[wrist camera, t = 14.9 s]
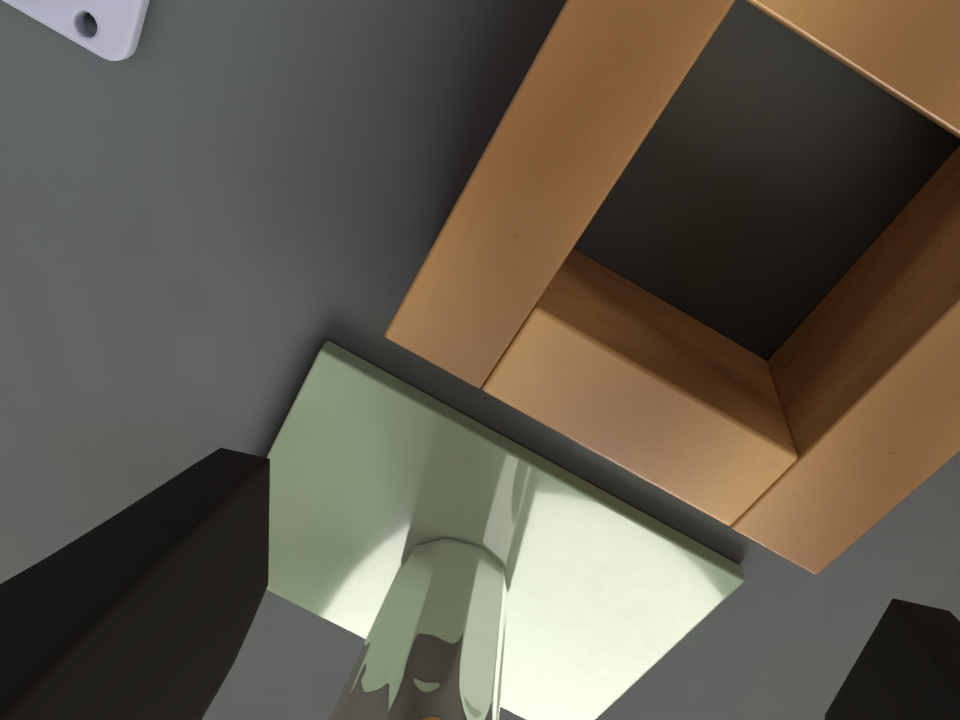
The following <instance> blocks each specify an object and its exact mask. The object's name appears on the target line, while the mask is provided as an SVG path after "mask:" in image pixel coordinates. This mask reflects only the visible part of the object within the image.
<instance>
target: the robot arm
mask: <svg viewBox="0 0 960 720" xmlns="http://www.w3.org/2000/svg"><path fill="white" fill-rule="evenodd" d="M2 1H4V2H6V3H7V4H9V5H11V6H13V7H15V8H16V9H18V10H20V11H22V12H23V13H25V14H27V15H29V16H30V17H32V18H34V19H36V20H37V21H39V22H41V23H43V24H44V25H46V26H48V27H50V28H51V29H53V30H55V31H57V32H58V33H60V34H62V35H64V36H65V37H67V38H69V39H71V40H72V41H74V42H76V43H78V44H79V45H81V46H83V47H85V48H86V49H88V50H90V51H92V52H93V53H95V54H97V55H99V56H100V57H102V58H104V59H107V60H110V61H118V60H123V59H127V58H129V57H130V56H132V55H133V54H134V52H135V50H136V48H137V46H138V42H139V39H140V35H141V31H142V28H143V24H144V20H145V17H146V13H147V9H148V6H149V2H150V0H2ZM87 12H88V13H89V14H91V15H92V16H93V17H94V19H95V21H96V23H97V33H96V34H93V33H92V32H91V31H90V30H89V29H88V27H87V25H86V23H85V16H86V14H87ZM269 502H270V459H268V458H264V457H260V456H255V455H251V454H246V453H242V452H237V451H233V450H228V449H224V448H220V449H218V450H217V451H215V452H213V453H212V454H210V455H209V456H207V457H205V458H204V459H202V460H200V461H199V462H197V463H196V464H194V465H192V466H191V467H189V468H188V469H186V470H185V471H183V472H182V473H180V474H178V475H177V476H175V477H174V478H172V479H171V480H169V481H168V482H166V483H165V484H163V485H161V486H160V487H158V488H157V489H155V490H154V491H152V492H151V493H149V494H148V495H146V496H144V497H143V498H141V499H140V500H138V501H137V502H135V503H134V504H132V505H130V506H129V507H127V508H126V509H124V510H123V511H121V512H120V513H118V514H116V515H115V516H113V517H112V518H110V519H108V520H107V521H105V522H104V523H102V524H100V525H99V526H97V527H96V528H94V529H92V530H91V531H89V532H87V533H86V534H84V535H83V536H81V537H79V538H78V539H76V540H75V541H73V542H71V543H70V544H68V545H66V546H65V547H63V548H62V549H60V550H58V551H57V552H55V553H54V554H52V555H50V556H49V557H47V558H45V559H44V560H42V561H40V562H39V563H37V564H35V565H33V566H32V567H30V568H28V569H26V570H24V571H23V572H21V573H19V574H17V575H16V576H14V577H12V578H10V579H9V580H7V581H5V582H3V583H2V584H0V720H201V719H202V718H203V716H204V714H205V713H206V711H207V709H208V707H209V706H210V704H211V702H212V700H213V699H214V697H215V695H216V693H217V692H218V690H219V688H220V687H221V685H222V683H223V681H224V680H225V678H226V676H227V674H228V672H229V671H230V669H231V667H232V665H233V664H234V662H235V659H236V657H237V655H238V653H239V651H240V648H241V646H242V644H243V642H244V639H245V637H246V635H247V633H248V631H249V628H250V626H251V624H252V621H253V619H254V617H255V614H256V612H257V610H258V607H259V605H260V603H261V600H262V598H263V595H264V593H265V591H266V588H267V586H268V573H269ZM825 720H960V621H959V620H958V619H957V618H956V617H955V616H954V615H953V614H952V613H951V612H950V611H947V610H942V609H938V608H933V607H929V606H924V605H920V604H916V603H911V602H907V601H902V600H898V599H892V601H891V602H890V604H889V606H888V608H887V609H886V611H885V613H884V615H883V616H882V618H881V620H880V621H879V623H878V625H877V627H876V628H875V630H874V632H873V633H872V635H871V637H870V639H869V640H868V642H867V644H866V645H865V647H864V649H863V651H862V652H861V654H860V656H859V657H858V659H857V661H856V663H855V664H854V666H853V668H852V669H851V671H850V673H849V675H848V676H847V678H846V680H845V681H844V683H843V685H842V687H841V688H840V690H839V692H838V693H837V695H836V697H835V699H834V700H833V702H832V704H831V706H830V707H829V709H828V711H827V712H826V714H825Z"/></svg>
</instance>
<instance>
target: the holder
mask: <svg viewBox="0 0 960 720" xmlns="http://www.w3.org/2000/svg"><path fill="white" fill-rule="evenodd" d="M744 1H746V2H747V3H749V4H750V5H752V6H753V7H755V8H756V9H758V10H760V11H761V12H763V13H764V14H766V15H767V16H769V17H771V18H772V19H774V20H775V21H777V22H778V23H780V24H781V25H783V26H785V27H786V28H788V29H789V30H791V31H792V32H794V33H795V34H797V35H799V36H800V37H802V38H803V39H805V40H806V41H808V42H809V43H811V44H813V45H814V46H816V47H817V48H819V49H820V50H822V51H823V52H825V53H827V54H828V55H830V56H831V57H833V58H834V59H836V60H838V61H839V62H841V63H842V64H844V65H845V66H847V67H848V68H850V69H852V70H853V71H855V72H856V73H858V74H859V75H861V76H862V77H864V78H866V79H867V80H869V81H870V82H872V83H873V84H875V85H876V86H878V87H880V88H881V89H883V90H884V91H886V92H887V93H889V94H891V95H892V96H894V97H895V98H897V99H898V100H900V101H901V102H903V103H905V104H906V105H908V106H909V107H911V108H912V109H914V110H915V111H917V112H919V113H920V114H922V115H923V116H925V117H926V118H928V119H929V120H931V121H933V122H934V123H936V124H937V125H939V126H940V127H942V128H943V129H945V130H947V131H948V132H950V133H951V134H953V135H954V136H956V137H958V138H959V139H960V0H744ZM734 2H735V0H566V2H565V4H564V6H563V7H562V9H561V11H560V13H559V15H558V17H557V18H556V20H555V22H554V24H553V26H552V28H551V29H550V31H549V33H548V35H547V37H546V39H545V40H544V42H543V44H542V46H541V48H540V50H539V51H538V53H537V55H536V57H535V59H534V61H533V62H532V64H531V66H530V68H529V70H528V72H527V73H526V75H525V77H524V79H523V81H522V83H521V84H520V86H519V88H518V90H517V92H516V94H515V95H514V97H513V99H512V101H511V103H510V105H509V106H508V108H507V110H506V112H505V114H504V116H503V117H502V119H501V121H500V123H499V125H498V127H497V128H496V130H495V132H494V134H493V136H492V138H491V139H490V141H489V143H488V145H487V147H486V149H485V150H484V152H483V154H482V156H481V158H480V160H479V161H478V163H477V165H476V167H475V169H474V171H473V172H472V174H471V176H470V178H469V180H468V182H467V183H466V185H465V187H464V189H463V191H462V193H461V194H460V196H459V198H458V200H457V202H456V204H455V206H454V207H453V209H452V211H451V213H450V215H449V217H448V218H447V220H446V222H445V224H444V226H443V228H442V229H441V231H440V233H439V235H438V237H437V239H436V240H435V242H434V244H433V246H432V248H431V250H430V251H429V253H428V255H427V257H426V259H425V261H424V262H423V264H422V266H421V268H420V270H419V272H418V273H417V275H416V277H415V279H414V281H413V283H412V284H411V286H410V288H409V290H408V292H407V294H406V295H405V297H404V299H403V301H402V303H401V305H400V306H399V308H398V310H397V312H396V314H395V316H394V317H393V319H392V321H391V323H390V325H389V327H388V328H387V330H386V332H385V337H386V338H388V339H389V340H391V341H393V342H395V343H397V344H398V345H400V346H402V347H404V348H406V349H407V350H409V351H411V352H413V353H415V354H417V355H418V356H420V357H422V358H424V359H426V360H427V361H429V362H431V363H433V364H435V365H436V366H438V367H440V368H442V369H444V370H446V371H447V372H449V373H451V374H453V375H455V376H456V377H458V378H460V379H462V380H464V381H465V382H467V383H469V384H471V385H473V386H475V387H476V388H481V387H482V389H483V390H484V391H485V392H486V393H488V394H490V395H492V396H493V397H495V398H497V399H499V400H501V401H503V402H504V403H506V404H508V405H510V406H512V407H513V408H515V409H517V410H519V411H521V412H522V413H524V414H526V415H528V416H530V417H532V418H533V419H535V420H537V421H539V422H541V423H542V424H544V425H546V426H548V427H550V428H551V429H553V430H555V431H557V432H559V433H561V434H562V435H564V436H566V437H568V438H570V439H571V440H573V441H575V442H577V443H579V444H580V445H582V446H584V447H586V448H588V449H590V450H591V451H593V452H595V453H597V454H599V455H600V456H602V457H604V458H606V459H608V460H609V461H611V462H613V463H615V464H617V465H619V466H620V467H622V468H624V469H626V470H628V471H629V472H631V473H633V474H635V475H637V476H638V477H640V478H642V479H644V480H646V481H648V482H649V483H651V484H653V485H655V486H657V487H658V488H660V489H662V490H664V491H666V492H667V493H669V494H671V495H673V496H675V497H677V498H678V499H680V500H682V501H684V502H686V503H687V504H689V505H691V506H693V507H695V508H696V509H698V510H700V511H702V512H704V513H706V514H707V515H709V516H711V517H713V518H715V519H716V520H718V521H720V522H722V523H724V524H725V525H728V526H730V525H731V528H732V529H733V530H735V531H737V532H739V533H740V534H742V535H744V536H746V537H748V538H749V539H751V540H753V541H755V542H757V543H759V544H760V545H762V546H764V547H766V548H768V549H769V550H771V551H773V552H775V553H777V554H778V555H780V556H782V557H784V558H786V559H788V560H789V561H791V562H793V563H795V564H797V565H798V566H800V567H802V568H804V569H806V570H807V571H809V572H811V573H813V574H815V575H818V574H819V573H820V572H821V571H822V570H824V569H825V568H826V567H827V566H828V565H829V564H830V563H832V562H833V561H834V560H835V559H836V558H837V557H838V556H840V555H841V554H842V553H843V552H844V551H845V550H846V549H848V548H849V547H850V546H851V545H852V544H853V543H854V542H856V541H857V540H858V539H859V538H860V537H861V536H862V535H864V534H865V533H866V532H867V531H868V530H869V529H870V528H872V527H873V526H874V525H875V524H876V523H877V522H878V521H880V520H881V519H882V518H883V517H884V516H885V515H886V514H888V513H889V512H890V511H891V510H892V509H893V508H894V507H896V506H897V505H898V504H899V503H900V502H901V501H902V500H904V499H905V498H906V497H907V496H908V495H909V494H910V493H912V492H913V491H914V490H915V489H916V488H917V487H918V486H920V485H921V484H922V483H923V482H924V481H925V480H926V479H927V478H929V477H930V476H931V475H932V474H933V473H934V472H935V471H937V470H938V469H939V468H940V467H941V466H942V465H943V464H945V463H946V462H947V461H948V460H949V459H950V458H951V457H953V456H954V455H955V454H956V453H957V452H958V451H959V450H960V146H959V147H958V148H957V149H956V150H955V151H954V152H953V153H952V155H951V156H950V157H949V158H948V159H947V160H946V161H945V162H944V164H943V165H942V166H941V167H940V168H939V169H938V170H937V171H936V173H935V174H934V175H933V176H932V177H931V178H930V179H929V180H928V182H927V183H926V184H925V185H924V186H923V187H922V188H921V189H920V191H919V192H918V193H917V194H916V195H915V196H914V197H913V198H912V200H911V201H910V202H909V203H908V204H907V205H906V206H905V207H904V209H903V210H902V211H901V212H900V213H899V214H898V215H897V216H896V218H895V219H894V220H893V221H892V222H891V223H890V224H889V225H888V227H887V228H886V229H885V230H884V231H883V232H882V233H881V234H880V236H879V237H878V238H877V239H876V240H875V241H874V242H873V243H872V245H871V246H870V247H869V248H868V249H867V250H866V251H865V252H864V254H863V255H862V256H861V257H860V258H859V259H858V260H857V261H856V263H855V264H854V265H853V266H852V267H851V268H850V269H849V270H848V272H847V273H846V274H845V275H844V276H843V277H842V278H841V279H840V281H839V282H838V283H837V284H836V285H835V286H834V287H833V288H832V290H831V291H830V292H829V293H828V294H827V295H826V296H825V297H824V299H823V300H822V301H821V302H820V303H819V304H818V305H817V306H816V308H815V309H814V310H813V311H812V312H811V313H810V314H809V315H808V317H807V318H806V319H805V320H804V321H803V322H802V323H801V324H800V326H799V327H798V328H797V329H796V330H795V331H794V332H793V333H792V335H791V336H790V337H789V338H788V339H787V340H786V341H785V342H784V344H783V345H782V346H781V347H780V348H779V349H778V350H777V351H776V353H775V354H774V355H773V356H772V357H771V358H770V359H769V360H768V362H766V361H765V360H764V359H763V358H761V357H759V356H757V355H756V354H754V353H752V352H751V351H749V350H747V349H745V348H744V347H742V346H740V345H739V344H737V343H735V342H733V341H732V340H730V339H728V338H727V337H725V336H723V335H721V334H720V333H718V332H716V331H715V330H713V329H711V328H709V327H708V326H706V325H704V324H703V323H701V322H699V321H697V320H696V319H694V318H692V317H691V316H689V315H687V314H685V313H684V312H682V311H680V310H679V309H677V308H675V307H673V306H672V305H670V304H668V303H667V302H665V301H663V300H661V299H660V298H658V297H656V296H655V295H653V294H651V293H649V292H648V291H646V290H644V289H643V288H641V287H639V286H637V285H636V284H634V283H632V282H631V281H629V280H627V279H625V278H624V277H622V276H620V275H619V274H617V273H615V272H613V271H612V270H610V269H608V268H607V267H605V266H603V265H601V264H600V263H598V262H596V261H595V260H593V259H591V258H589V257H588V256H586V255H584V254H583V253H581V252H579V251H577V250H576V249H574V248H573V247H574V246H575V244H576V243H577V241H578V240H579V238H580V236H581V235H582V233H583V232H584V230H585V229H586V227H587V226H588V224H589V223H590V221H591V220H592V218H593V217H594V215H595V214H596V212H597V211H598V209H599V208H600V206H601V204H602V203H603V201H604V200H605V198H606V197H607V195H608V194H609V192H610V191H611V189H612V188H613V186H614V185H615V183H616V182H617V180H618V179H619V177H620V176H621V174H622V172H623V171H624V169H625V168H626V166H627V165H628V163H629V162H630V160H631V159H632V157H633V156H634V154H635V153H636V151H637V150H638V148H639V147H640V145H641V144H642V142H643V141H644V139H645V137H646V136H647V134H648V133H649V131H650V130H651V128H652V127H653V125H654V124H655V122H656V121H657V119H658V118H659V116H660V115H661V113H662V112H663V110H664V109H665V107H666V105H667V104H668V102H669V101H670V99H671V98H672V96H673V95H674V93H675V92H676V90H677V89H678V87H679V86H680V84H681V83H682V81H683V80H684V78H685V77H686V75H687V74H688V72H689V70H690V69H691V67H692V66H693V64H694V63H695V61H696V60H697V58H698V57H699V55H700V54H701V52H702V51H703V49H704V48H705V46H706V45H707V43H708V42H709V40H710V38H711V37H712V35H713V34H714V32H715V31H716V29H717V28H718V26H719V25H720V23H721V22H722V20H723V19H724V17H725V16H726V14H727V13H728V11H729V10H730V8H731V6H732V5H733V3H734Z"/></svg>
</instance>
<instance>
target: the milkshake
mask: <svg viewBox="0 0 960 720" xmlns="http://www.w3.org/2000/svg"><path fill="white" fill-rule="evenodd" d="M507 605H508V594H507V587H506V580H505V573H504V569H503V568H502V567H501V566H500V565H499V564H498V563H497V562H496V561H495V560H494V559H492V558H491V557H490V556H489V555H488V554H487V553H486V552H485V551H484V550H483V549H482V548H481V547H479V546H475V545H471V544H467V543H463V542H459V541H455V540H452V539H448V538H444V539H440V540H436V541H432V542H428V543H424V544H420V545H416V546H414V548H413V549H412V550H411V552H410V553H409V555H408V556H407V558H406V559H405V560H404V562H403V563H402V564H401V566H400V567H399V569H398V571H397V573H396V575H395V577H394V579H393V581H392V583H391V586H390V588H389V590H388V592H387V594H386V597H385V599H384V601H383V603H382V605H381V608H380V610H379V612H378V614H377V616H376V618H375V621H374V623H373V625H372V627H371V629H370V632H369V634H368V636H367V638H366V640H365V642H364V645H363V647H362V649H361V651H360V653H359V656H358V658H357V660H356V662H355V664H354V667H353V669H352V671H351V673H350V675H349V677H348V680H347V682H346V684H345V686H344V688H343V690H342V693H341V695H340V697H339V699H338V701H337V703H336V705H335V707H334V709H333V711H332V713H331V715H330V717H329V719H328V720H499V711H500V697H501V684H502V671H503V658H504V645H505V631H506V618H507Z"/></svg>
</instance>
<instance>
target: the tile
mask: <svg viewBox="0 0 960 720" xmlns="http://www.w3.org/2000/svg"><path fill="white" fill-rule="evenodd" d="M266 458H268V459H270V502H269V573H268V586H267V588H266V590H268V591H270V592H272V593H274V594H276V595H278V596H280V597H282V598H284V599H286V600H288V601H290V602H292V603H294V604H296V605H298V606H300V607H302V608H304V609H306V610H308V611H310V612H312V613H314V614H316V615H318V616H320V617H322V618H324V619H326V620H328V621H330V622H332V623H334V624H336V625H338V626H340V627H342V628H344V629H346V630H348V631H350V632H352V633H354V634H356V635H358V636H360V637H362V638H364V639H366V638H367V636H368V634H369V632H370V629H371V627H372V625H373V623H374V621H375V618H376V616H377V614H378V612H379V610H380V608H381V605H382V603H383V601H384V599H385V597H386V594H387V592H388V590H389V588H390V586H391V583H392V581H393V579H394V577H395V575H396V573H397V571H398V569H399V567H400V566H401V564H402V563H403V562H404V560H405V559H406V558H407V556H408V555H409V553H410V552H411V550H412V549H413V548H414V546H416V545H420V544H424V543H428V542H432V541H436V540H440V539H444V538H448V539H452V540H455V541H459V542H463V543H467V544H471V545H475V546H479V547H481V548H482V549H483V550H484V551H485V552H486V553H487V554H488V555H489V556H490V557H491V558H492V559H494V560H495V561H496V562H497V563H498V564H499V565H500V566H501V567H502V568H503V569H504V573H505V580H506V587H507V594H508V605H507V618H506V631H505V645H504V658H503V671H502V684H501V697H500V707H501V708H503V709H505V710H507V711H509V712H511V713H513V714H515V715H517V716H519V717H521V718H523V719H525V720H596V719H597V718H598V717H599V716H600V715H601V714H602V713H604V712H605V711H606V710H607V709H608V708H609V707H610V706H611V705H612V704H613V703H614V702H615V701H616V700H617V699H619V698H620V697H621V696H622V695H623V694H624V693H625V692H626V691H627V690H628V689H629V688H630V687H631V686H632V685H634V684H635V683H636V682H637V681H638V680H639V679H640V678H641V677H642V676H643V675H644V674H645V673H646V672H647V671H649V670H650V669H651V668H652V667H653V666H654V665H655V664H656V663H657V662H658V661H659V660H660V659H661V658H663V657H664V656H665V655H666V654H667V653H668V652H669V651H670V650H671V649H672V648H673V647H674V646H675V645H676V644H678V643H679V642H680V641H681V640H682V639H683V638H684V637H685V636H686V635H687V634H688V633H689V632H690V631H691V630H693V629H694V628H695V627H696V626H697V625H698V624H699V623H700V622H701V621H702V620H703V619H704V618H705V617H706V616H708V615H709V614H710V613H711V612H712V611H713V610H714V609H715V608H716V607H717V606H718V605H719V604H720V603H721V602H723V601H724V600H725V599H726V598H727V597H728V596H729V595H730V594H731V593H732V592H733V591H734V590H735V589H736V588H738V587H739V586H740V585H741V584H742V583H743V582H744V580H745V579H744V574H743V569H742V566H741V565H739V564H737V563H735V562H733V561H732V560H730V559H728V558H726V557H724V556H722V555H721V554H719V553H717V552H715V551H713V550H711V549H710V548H708V547H706V546H704V545H702V544H700V543H699V542H697V541H695V540H693V539H691V538H689V537H688V536H686V535H684V534H682V533H680V532H678V531H677V530H675V529H673V528H671V527H669V526H667V525H666V524H664V523H662V522H660V521H658V520H656V519H655V518H653V517H651V516H649V515H647V514H646V513H644V512H642V511H640V510H638V509H636V508H635V507H633V506H631V505H629V504H627V503H625V502H624V501H622V500H620V499H618V498H616V497H614V496H613V495H611V494H609V493H607V492H605V491H603V490H602V489H600V488H598V487H596V486H594V485H592V484H591V483H589V482H587V481H585V480H583V479H581V478H580V477H578V476H576V475H574V474H572V473H570V472H569V471H567V470H565V469H563V468H561V467H559V466H558V465H556V464H554V463H552V462H550V461H548V460H547V459H545V458H543V457H541V456H539V455H538V454H536V453H534V452H532V451H530V450H528V449H527V448H525V447H523V446H521V445H519V444H517V443H516V442H514V441H512V440H510V439H508V438H506V437H505V436H503V435H501V434H499V433H497V432H495V431H494V430H492V429H490V428H488V427H486V426H484V425H483V424H481V423H479V422H477V421H475V420H473V419H472V418H470V417H468V416H466V415H464V414H462V413H461V412H459V411H457V410H455V409H453V408H451V407H450V406H448V405H446V404H444V403H442V402H440V401H439V400H437V399H435V398H433V397H431V396H429V395H428V394H426V393H424V392H422V391H420V390H419V389H417V388H415V387H413V386H411V385H409V384H408V383H406V382H404V381H402V380H400V379H398V378H397V377H395V376H393V375H391V374H389V373H387V372H386V371H384V370H382V369H380V368H378V367H376V366H375V365H373V364H371V363H369V362H367V361H365V360H364V359H362V358H360V357H358V356H356V355H354V354H353V353H351V352H349V351H347V350H345V349H343V348H342V347H340V346H338V345H336V344H334V343H332V342H331V341H326V342H325V343H324V345H323V346H322V348H321V349H320V351H319V353H318V355H317V357H316V359H315V361H314V363H313V365H312V367H311V369H310V371H309V373H308V375H307V377H306V379H305V381H304V383H303V385H302V387H301V389H300V391H299V393H298V395H297V397H296V399H295V401H294V403H293V405H292V407H291V409H290V411H289V413H288V415H287V417H286V419H285V421H284V423H283V425H282V427H281V429H280V431H279V433H278V435H277V437H276V439H275V441H274V443H273V445H272V447H271V449H270V451H269V453H268V455H267V457H266Z"/></svg>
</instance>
